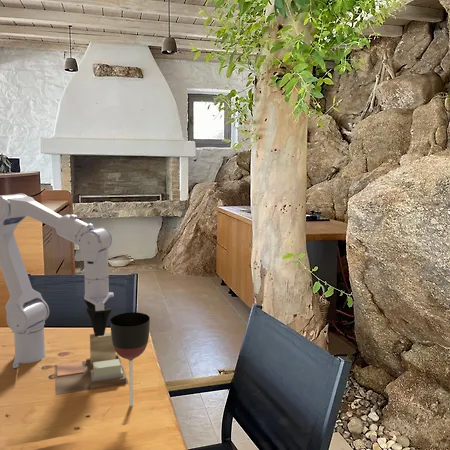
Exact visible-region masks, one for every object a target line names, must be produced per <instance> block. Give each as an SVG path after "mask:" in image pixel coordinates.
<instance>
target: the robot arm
mask: <svg viewBox="0 0 450 450" xmlns="http://www.w3.org/2000/svg"><path fill="white" fill-rule="evenodd" d="M26 217H29V218H32V219H34V220H36V221H38V222H39V223H42V224H45V225H47V226H50V227H51V228H54V229H55V233H56V234H57V236H60V237H62V238H64V239H65V240H67V241H69V242H71V243H73V244H75V245H77V246H78V248H79V250H80V251H81V252H82V259H83V267H84V269H83V270H84V272H83V273H84V276H83V277H84V296H83V297H84V299H83V300H84V302H85V304H86V306H87V308H86V312H87V315H88V316H89V318H90V322H91V325H92V330H93V334H95V336H104V333H106V328H107V322H108V319H109V316H110V314H111V312H112V307H111V306H109V307H105V305H106V302H107V301H108V300H109V298H113V297H115V294H114V292H113V291H110V287H109V285H110V284H109V283H110V281H109V280H110V279H109V275H110V273H109V249H108V248H110V247H111V246H112V242H113V237H112V235H111V232H110V231H109V230H108V229H106V228H105V227H104V226H98V227H95V226H94V224H93V223H87V222H86V221H83V220H81V219H79V218H78V215H76V214H64V215H61V214H60V213H57V212H55V211H54V210H52V209H50V208H48V207H47V206H45V205H43V204H42V203H40V202H38V201H36V200H35V199H34V198H33V196H28V195H27V194H25V193H20V192H19V193H14V194H13V193H12V194H3V195H0V270H1V274H2V276H3V278H4V282H5V285H6V288H7V290H8V293H9V298H8V301H7V302H6V303H5V308H4V309H5V311H6V318H5V319H6V324H7V325H8V328H9V329H10V330H11V332H12V333H13V339H14V358H13V363H12V369H18V368H19V367H20V364H32V363H36V362H39V361H42V360H43V359H44V358H45V357H46V347H45V346H46V344H45V326H44V325H46V320H47V319H48V318H49V315H50V308H49V305H48V303H47V302H46V301H45V300H44V298H43V296H42V293H41V292H39V291H37V290H35V289H33V287H32V284H31V280H30V278H29V275H28V272H27V269H26V267H25V266H26V265H25V262H24V260H23V257H22V254H21V252H20V248H19V246H18V243H17V240H16V237H15V235H14V232H15V230H16V228H17V227H18V225H19V224H20V223H22V221H23V220H25V218H26Z"/></svg>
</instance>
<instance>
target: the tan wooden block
mask: <svg viewBox="0 0 450 450" xmlns="http://www.w3.org/2000/svg"><path fill="white" fill-rule="evenodd" d="M89 347H90V348H89V351H90V352H89V353H90V355H89V357H90V361H91V365H92V364H93V362H100V361H107V360H114V359H116V355H117V353H116V351H115V349H114V347H113V343H112V337H111V331H107V332H105V333H104V336H95V334H94V333H91V334H89Z"/></svg>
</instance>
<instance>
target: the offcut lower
mask: <svg viewBox="0 0 450 450" xmlns="http://www.w3.org/2000/svg"><path fill="white" fill-rule="evenodd" d="M121 377H123V371H122V368H121V373H118V374H112V375H105V376H98V377H94V372H93V370H91V380H92V382H95V381H101V380H108V379H115V378H121Z"/></svg>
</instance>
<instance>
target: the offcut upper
mask: <svg viewBox="0 0 450 450" xmlns="http://www.w3.org/2000/svg"><path fill="white" fill-rule="evenodd" d="M120 361H121V360H120ZM120 361H119V359H114V360H107V361H100V362H93V372H94V377H98V376H105V375H112V374H118V373H121V364H120Z"/></svg>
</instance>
